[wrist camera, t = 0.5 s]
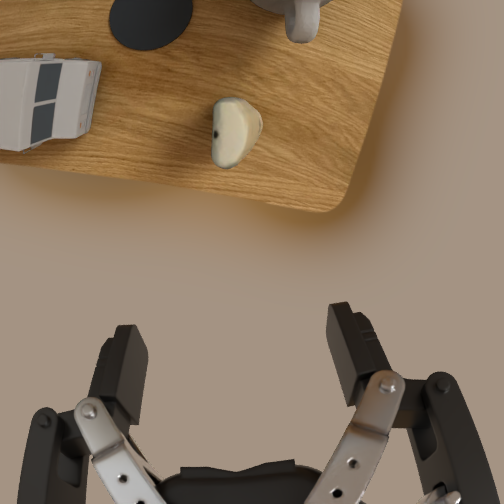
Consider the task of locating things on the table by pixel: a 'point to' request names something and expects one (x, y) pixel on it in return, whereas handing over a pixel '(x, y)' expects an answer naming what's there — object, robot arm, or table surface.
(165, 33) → the coaster
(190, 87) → the table surface
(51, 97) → the toy vehicle
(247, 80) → the table surface
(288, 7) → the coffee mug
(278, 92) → the table surface
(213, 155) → the cream rounded piece
